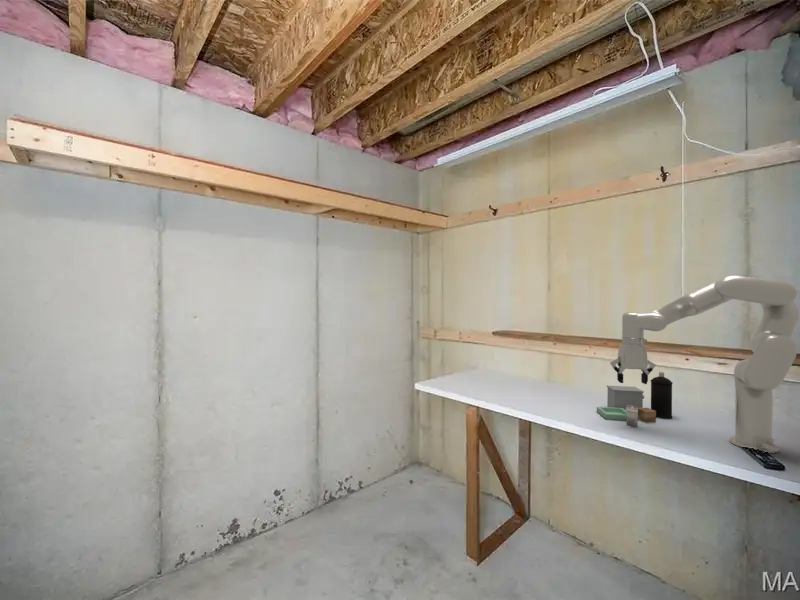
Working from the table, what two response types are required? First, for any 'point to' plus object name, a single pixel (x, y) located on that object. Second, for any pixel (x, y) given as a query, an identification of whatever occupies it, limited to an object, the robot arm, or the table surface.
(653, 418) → the walnut block
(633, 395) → the box
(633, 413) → the fuse
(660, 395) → the aerosol can
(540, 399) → the table surface
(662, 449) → the table surface
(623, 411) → the tray
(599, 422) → the table surface
